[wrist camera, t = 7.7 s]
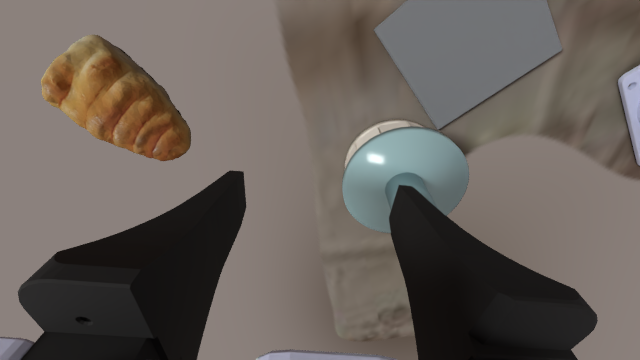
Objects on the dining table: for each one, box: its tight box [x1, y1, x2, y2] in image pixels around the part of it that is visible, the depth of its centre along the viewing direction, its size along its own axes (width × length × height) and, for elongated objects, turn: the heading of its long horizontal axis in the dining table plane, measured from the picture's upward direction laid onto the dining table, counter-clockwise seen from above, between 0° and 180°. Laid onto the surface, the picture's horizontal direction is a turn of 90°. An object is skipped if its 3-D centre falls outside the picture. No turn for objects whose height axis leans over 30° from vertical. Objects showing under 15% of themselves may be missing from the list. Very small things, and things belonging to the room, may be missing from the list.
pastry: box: [41, 35, 191, 161], centre depth 20 cm, size 9×7×4 cm
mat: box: [374, 0, 562, 130], centre depth 18 cm, size 9×9×1 cm
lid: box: [342, 126, 469, 233], centre depth 18 cm, size 9×9×5 cm
